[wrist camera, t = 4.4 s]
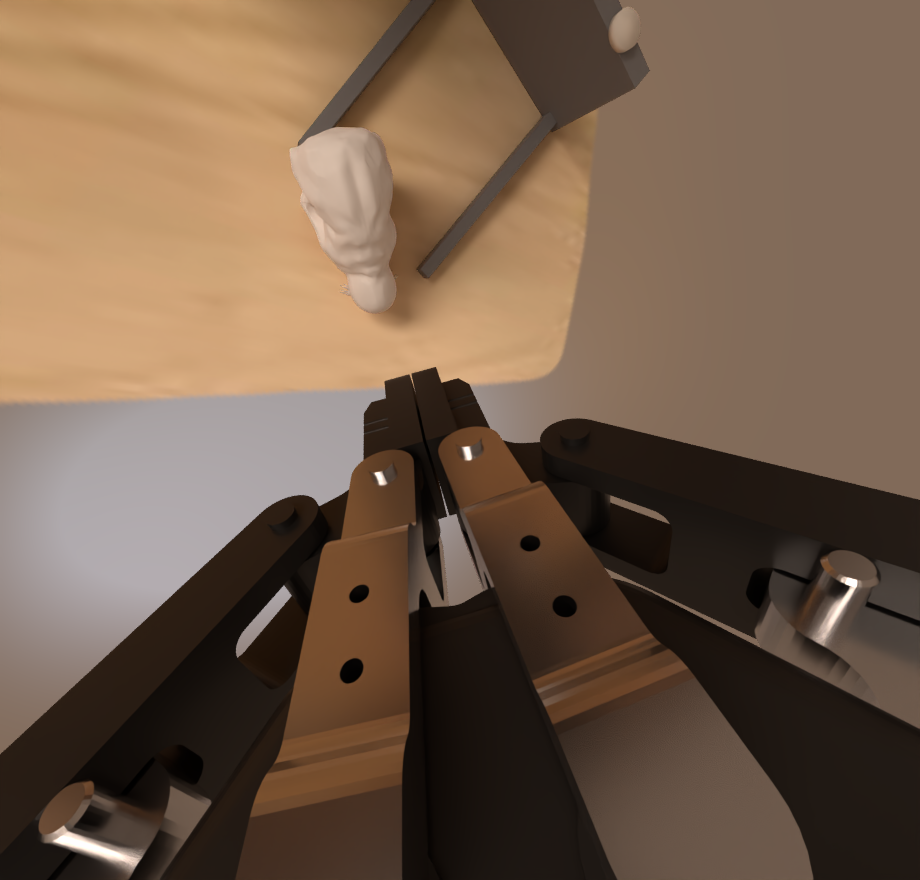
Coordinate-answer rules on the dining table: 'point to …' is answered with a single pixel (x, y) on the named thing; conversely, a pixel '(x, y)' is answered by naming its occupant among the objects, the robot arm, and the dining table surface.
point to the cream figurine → (351, 208)
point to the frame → (525, 74)
